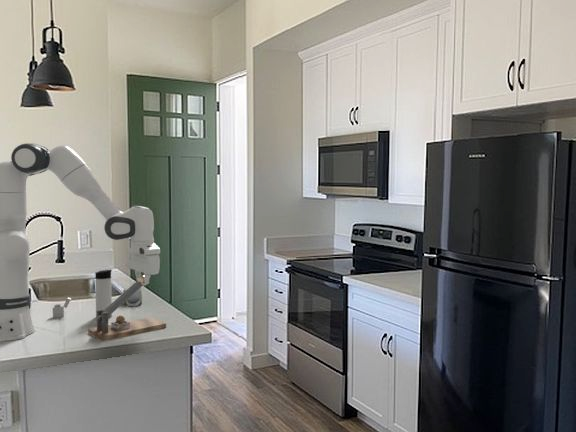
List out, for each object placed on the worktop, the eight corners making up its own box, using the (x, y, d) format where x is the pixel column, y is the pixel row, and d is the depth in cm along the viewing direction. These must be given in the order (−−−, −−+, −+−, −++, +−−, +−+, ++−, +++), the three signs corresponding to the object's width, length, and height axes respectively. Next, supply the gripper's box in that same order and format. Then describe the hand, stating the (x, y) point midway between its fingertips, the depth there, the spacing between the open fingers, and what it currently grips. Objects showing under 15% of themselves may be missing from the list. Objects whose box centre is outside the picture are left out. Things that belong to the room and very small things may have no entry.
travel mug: (107, 319, 216) (106, 271, 214) (93, 318, 217) (92, 270, 216) (115, 315, 222) (114, 268, 220) (101, 314, 223) (100, 268, 222)
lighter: (52, 317, 218) (52, 298, 217) (53, 316, 219) (52, 298, 219) (71, 316, 220) (70, 297, 219) (71, 315, 222) (71, 296, 221)
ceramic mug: (123, 302, 246) (122, 286, 245) (141, 300, 249) (140, 284, 248) (124, 307, 236) (124, 291, 235) (143, 306, 239) (143, 289, 238)
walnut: (118, 325, 197) (118, 317, 197) (114, 323, 199) (114, 315, 199) (126, 324, 199) (126, 315, 199) (122, 322, 201) (122, 314, 201)
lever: (104, 324, 193) (98, 316, 191) (100, 322, 196) (93, 314, 194) (151, 281, 205) (146, 274, 203) (146, 280, 208) (141, 272, 206)
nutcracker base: (101, 340, 188) (101, 316, 187) (88, 333, 197) (87, 309, 196) (166, 327, 206) (165, 304, 205) (151, 320, 214) (151, 299, 214)
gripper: (122, 245, 209) (123, 279, 210) (147, 251, 194) (147, 288, 195) (137, 244, 213) (137, 277, 214) (162, 249, 198) (163, 285, 199)
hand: (142, 282), depth 204 cm, fingers closed on lever, 4 cm apart
